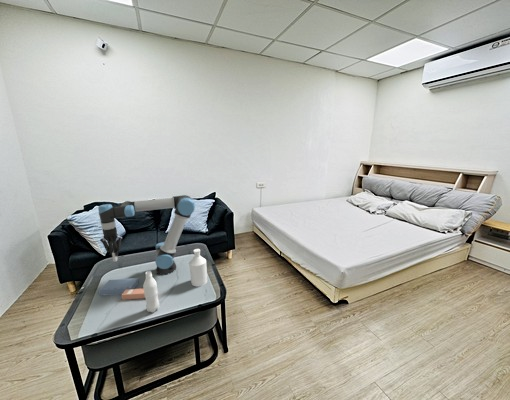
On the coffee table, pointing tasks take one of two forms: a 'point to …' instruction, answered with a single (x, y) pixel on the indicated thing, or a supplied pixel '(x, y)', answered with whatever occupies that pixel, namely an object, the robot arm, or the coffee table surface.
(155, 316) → the coffee table surface
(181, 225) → the robot arm
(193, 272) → the bottle
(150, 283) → the water bottle
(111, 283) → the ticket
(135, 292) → the orange rectangular block
